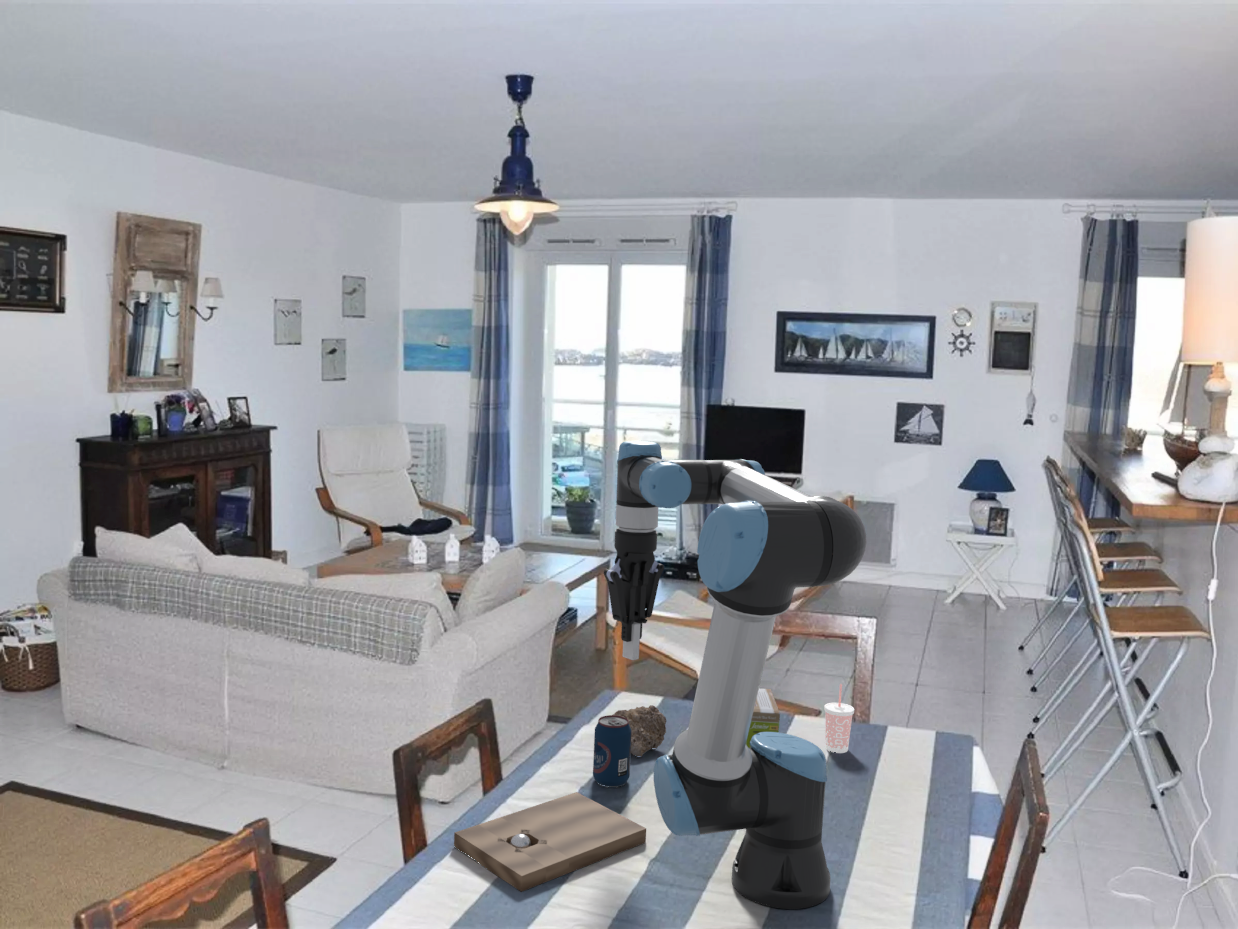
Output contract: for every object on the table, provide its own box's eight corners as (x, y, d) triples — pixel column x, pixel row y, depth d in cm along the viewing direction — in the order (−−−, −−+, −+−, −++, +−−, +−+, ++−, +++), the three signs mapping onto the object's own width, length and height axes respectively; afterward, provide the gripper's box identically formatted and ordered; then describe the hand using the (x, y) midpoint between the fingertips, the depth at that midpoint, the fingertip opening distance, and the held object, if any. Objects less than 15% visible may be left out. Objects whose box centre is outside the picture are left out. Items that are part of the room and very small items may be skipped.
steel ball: (539, 842, 175) (525, 834, 173) (528, 863, 173) (515, 854, 171) (525, 836, 177) (512, 827, 175) (515, 856, 176) (501, 848, 174)
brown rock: (624, 765, 213) (610, 716, 214) (603, 765, 221) (590, 717, 222) (681, 743, 220) (667, 695, 221) (660, 744, 228) (646, 697, 229)
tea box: (776, 787, 205) (781, 712, 204) (723, 785, 205) (727, 709, 204) (767, 757, 220) (771, 686, 218) (718, 754, 220) (721, 684, 219)
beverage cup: (820, 752, 224) (824, 686, 222) (823, 741, 230) (827, 677, 228) (850, 756, 222) (854, 690, 221) (852, 746, 228) (857, 681, 226)
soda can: (585, 779, 205) (587, 718, 204) (614, 771, 210) (617, 711, 208) (607, 792, 200) (609, 729, 198) (636, 784, 204) (639, 722, 203)
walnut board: (645, 842, 181) (646, 828, 180) (521, 891, 163) (521, 876, 163) (576, 805, 194) (576, 792, 193) (453, 847, 176) (454, 832, 176)
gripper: (648, 522, 199) (642, 647, 202) (594, 528, 190) (589, 658, 193) (677, 528, 193) (671, 656, 196) (623, 535, 185) (617, 669, 187)
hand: (630, 657), depth 194 cm, fingers closed
